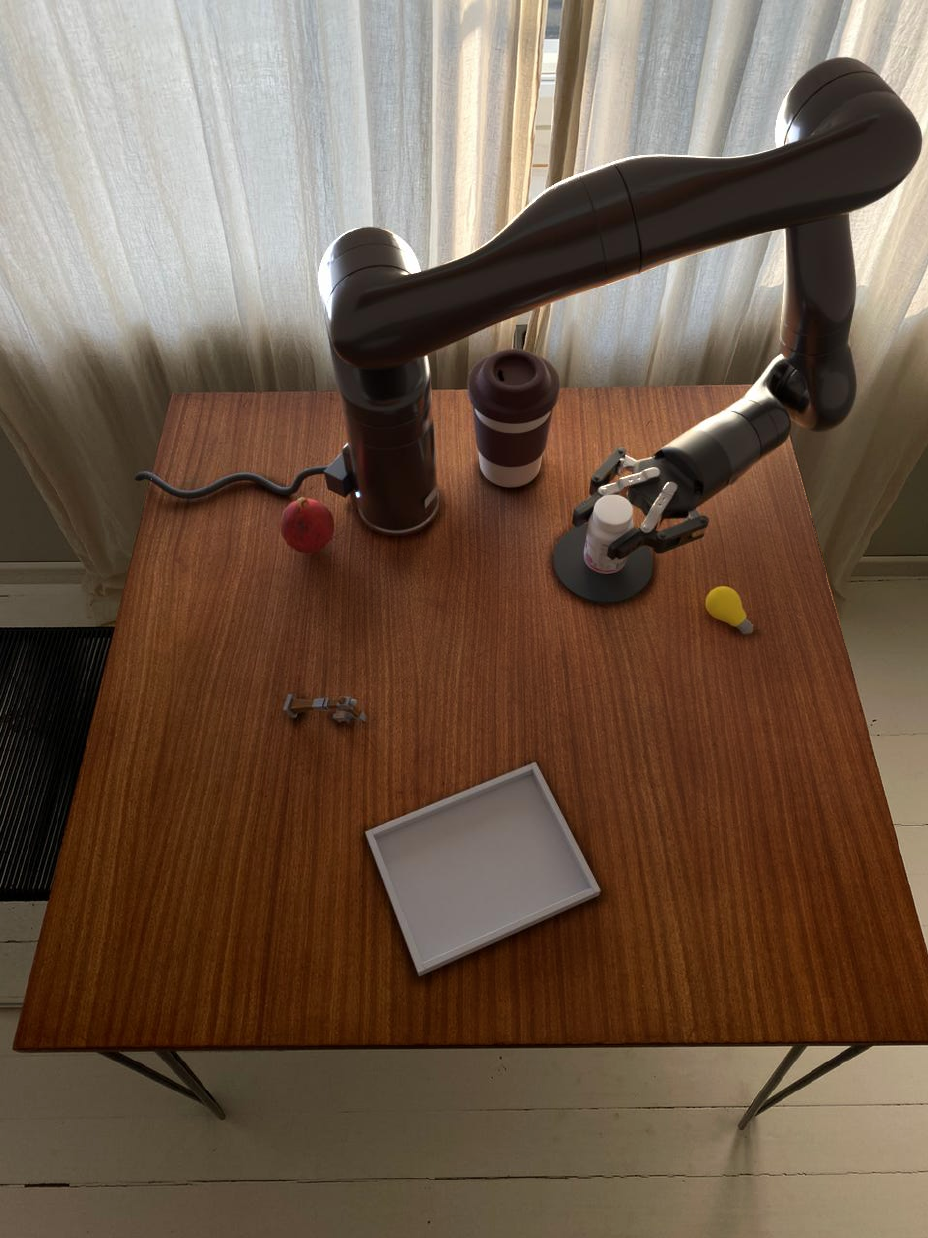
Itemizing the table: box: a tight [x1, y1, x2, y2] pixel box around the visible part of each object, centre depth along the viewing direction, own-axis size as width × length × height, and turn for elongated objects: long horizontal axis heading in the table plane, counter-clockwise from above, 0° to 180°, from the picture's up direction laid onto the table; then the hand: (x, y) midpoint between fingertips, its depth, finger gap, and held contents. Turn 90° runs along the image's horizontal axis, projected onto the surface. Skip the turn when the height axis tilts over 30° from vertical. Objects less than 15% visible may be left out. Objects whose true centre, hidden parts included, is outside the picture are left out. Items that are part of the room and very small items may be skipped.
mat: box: [552, 522, 654, 605], centre depth 97 cm, size 11×11×1 cm
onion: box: [280, 496, 335, 555], centre depth 95 cm, size 6×6×8 cm
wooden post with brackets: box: [282, 693, 369, 724], centre depth 86 cm, size 2×8×4 cm, turn 79°
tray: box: [364, 761, 602, 977], centre depth 78 cm, size 17×13×2 cm
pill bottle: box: [584, 495, 635, 574], centre depth 93 cm, size 5×5×8 cm
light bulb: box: [705, 585, 754, 635], centre depth 92 cm, size 3×6×4 cm
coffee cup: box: [467, 348, 561, 488], centre depth 98 cm, size 10×10×15 cm
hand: (592, 536), depth 90 cm, fingers closed on pill bottle, 4 cm apart
